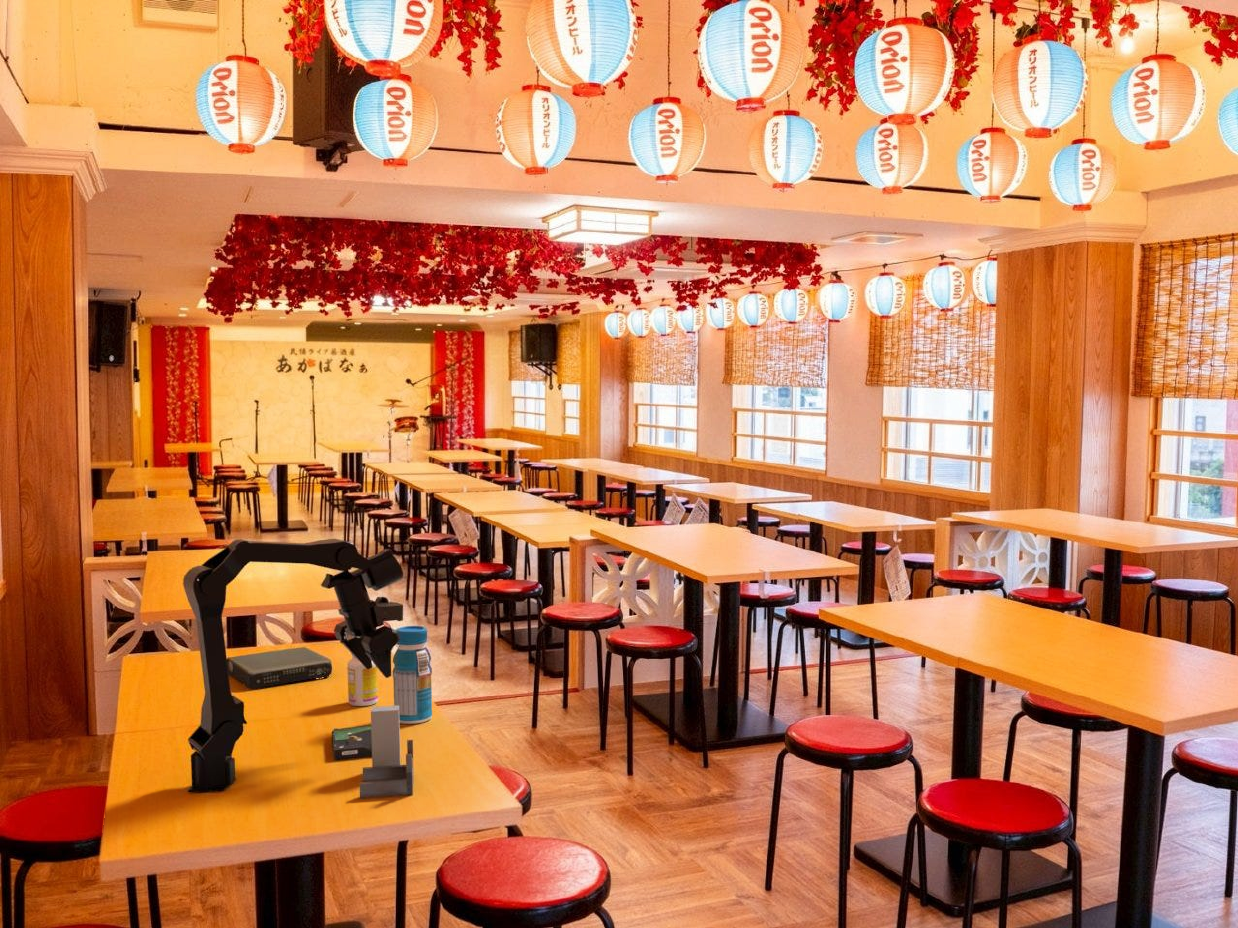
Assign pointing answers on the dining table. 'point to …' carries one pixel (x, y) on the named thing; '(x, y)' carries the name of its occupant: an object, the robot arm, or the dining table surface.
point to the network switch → (278, 667)
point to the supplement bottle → (362, 683)
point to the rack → (389, 778)
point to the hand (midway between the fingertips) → (379, 672)
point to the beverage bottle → (412, 676)
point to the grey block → (385, 736)
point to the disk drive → (352, 742)
